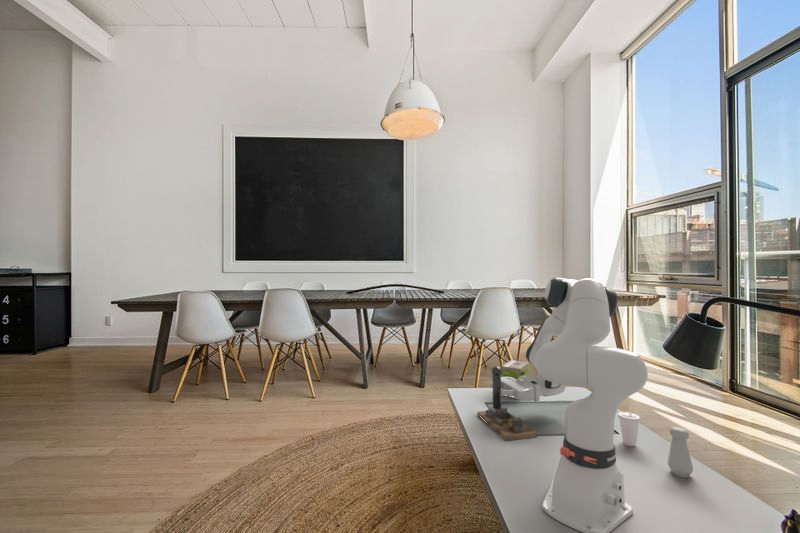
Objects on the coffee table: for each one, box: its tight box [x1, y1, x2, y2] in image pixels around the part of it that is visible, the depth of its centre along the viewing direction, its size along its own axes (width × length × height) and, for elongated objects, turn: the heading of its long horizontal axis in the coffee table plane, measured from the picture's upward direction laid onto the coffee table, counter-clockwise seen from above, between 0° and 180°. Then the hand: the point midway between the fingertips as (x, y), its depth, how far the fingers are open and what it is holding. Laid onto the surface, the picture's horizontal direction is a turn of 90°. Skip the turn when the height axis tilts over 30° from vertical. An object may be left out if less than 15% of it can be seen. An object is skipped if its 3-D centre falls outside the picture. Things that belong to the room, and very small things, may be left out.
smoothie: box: [617, 402, 641, 447], centre depth 120 cm, size 6×6×14 cm
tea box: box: [500, 359, 531, 390], centre depth 172 cm, size 15×10×15 cm, turn 144°
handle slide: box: [487, 365, 508, 418], centre depth 141 cm, size 6×5×19 cm
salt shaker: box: [667, 426, 694, 479], centre depth 102 cm, size 6×6×13 cm
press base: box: [477, 409, 538, 442], centre depth 135 cm, size 23×12×6 cm, turn 13°
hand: (496, 389), depth 141 cm, fingers open, 8 cm apart
